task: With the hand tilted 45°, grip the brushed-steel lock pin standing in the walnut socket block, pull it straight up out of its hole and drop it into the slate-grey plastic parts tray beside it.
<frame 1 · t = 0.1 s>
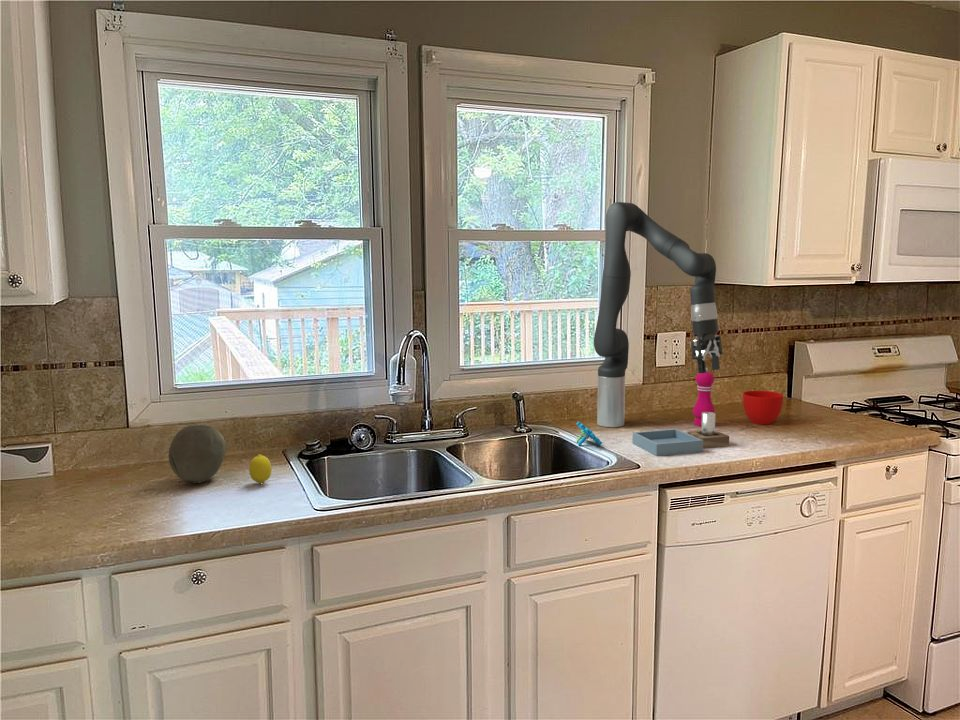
hand: (709, 371, 216), 22 cm above the worktop, tool pointing down, fingers open, 8 cm apart
blue branched flat part: (588, 445, 220), on the worktop
lock pin: (708, 428, 219), in the socket block
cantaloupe: (199, 481, 189), on the worktop
lemon: (261, 484, 185), on the worktop
socket block: (707, 443, 219), on the worktop
parts tray: (666, 447, 215), on the worktop
pepper mill: (703, 425, 243), on the worktop
ceramic cup: (762, 421, 247), on the worktop
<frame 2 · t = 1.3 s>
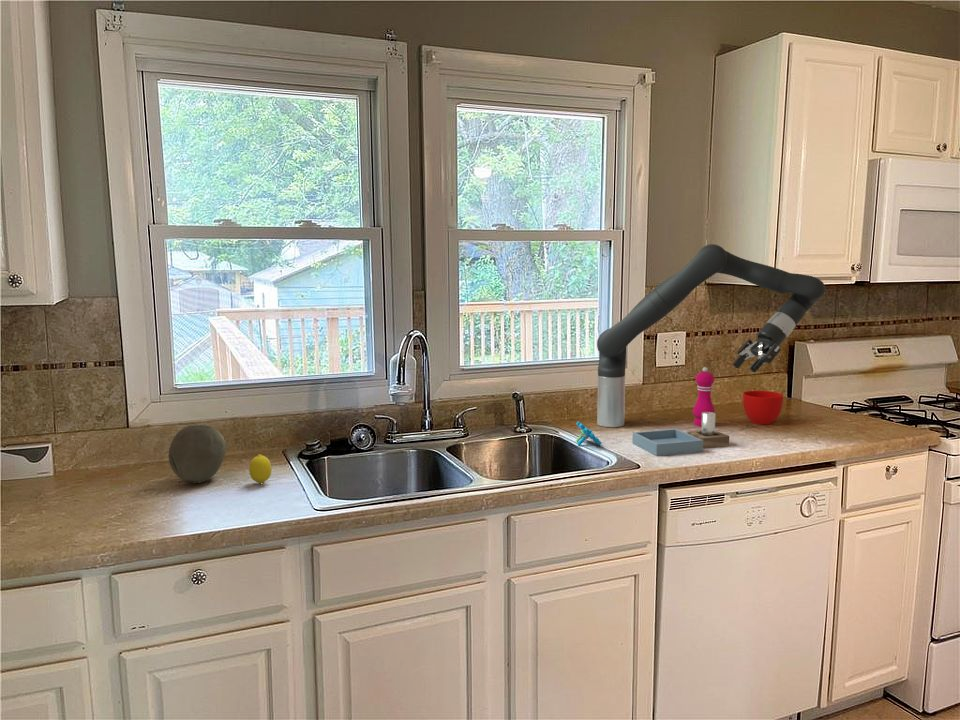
hand: (743, 368, 219), 23 cm above the worktop, tool tilted 45°, fingers open, 8 cm apart
nothing on the worktop moved.
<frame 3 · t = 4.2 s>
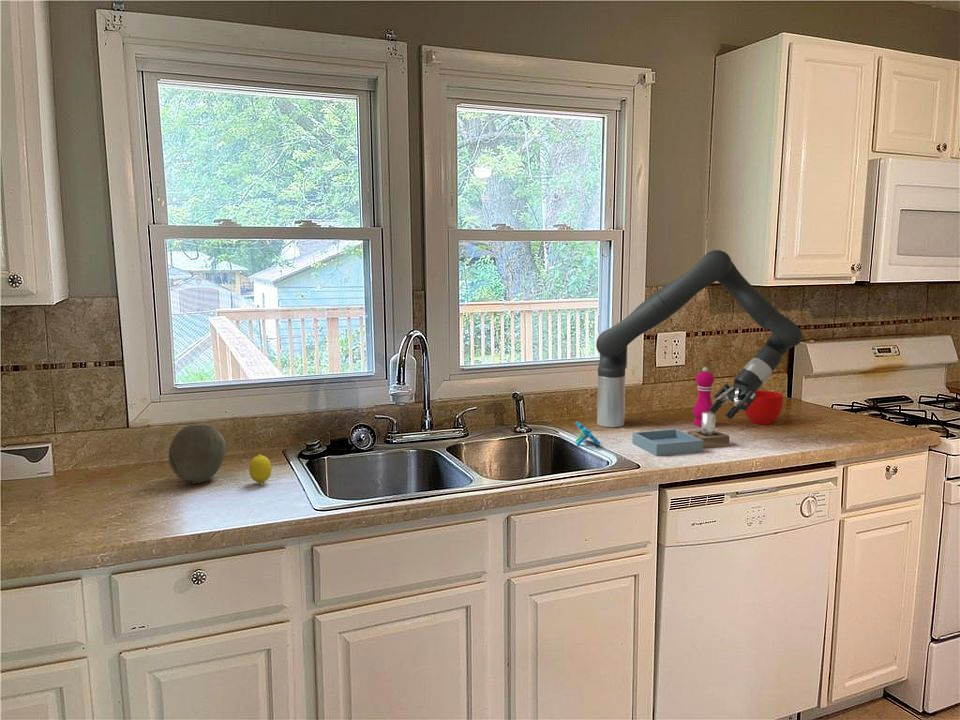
hand: (719, 414, 219), 9 cm above the worktop, tool tilted 45°, fingers open, 8 cm apart
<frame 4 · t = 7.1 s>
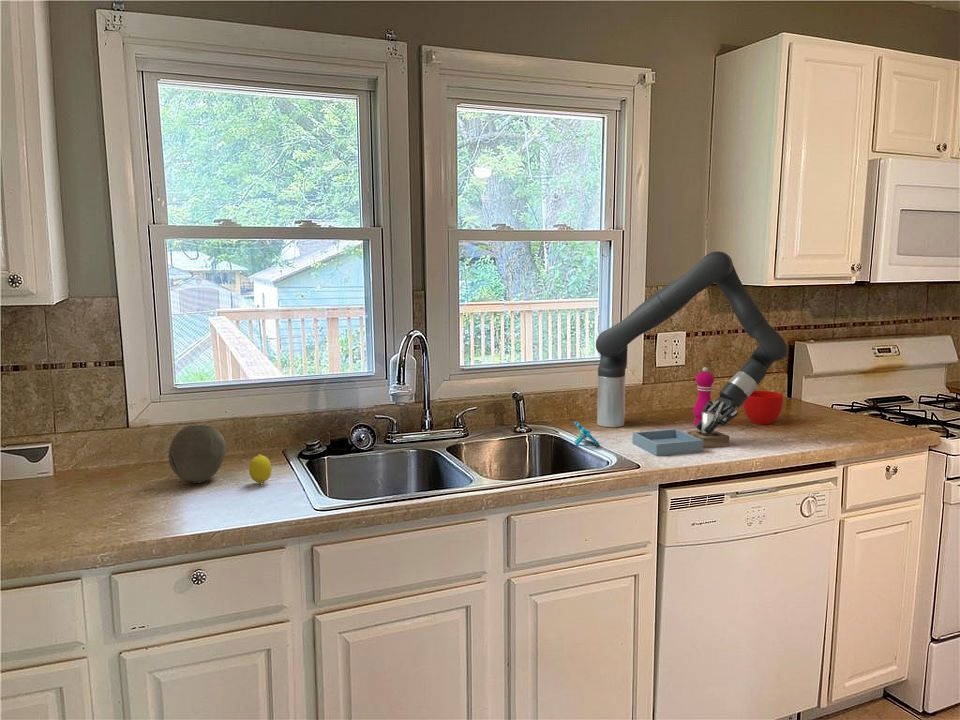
hand: (702, 430, 218), 4 cm above the worktop, tool tilted 45°, fingers closed on lock pin, 4 cm apart
lock pin: (708, 428, 218), in the socket block, touching gripper
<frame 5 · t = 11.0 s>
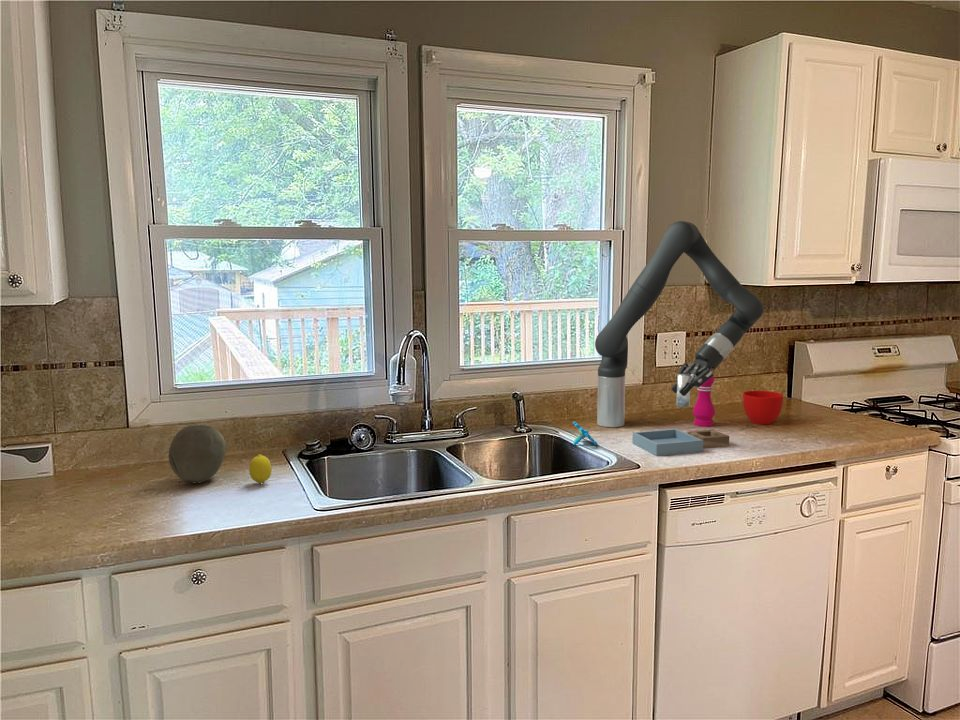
hand: (677, 392, 214), 17 cm above the worktop, tool tilted 45°, fingers closed on lock pin, 4 cm apart
lock pin: (683, 390, 214), point 17 cm above the worktop, touching gripper
when the fingers open (6 cm above the worktop, at t = 14.9 s): lock pin stays where it is, resting on parts tray.
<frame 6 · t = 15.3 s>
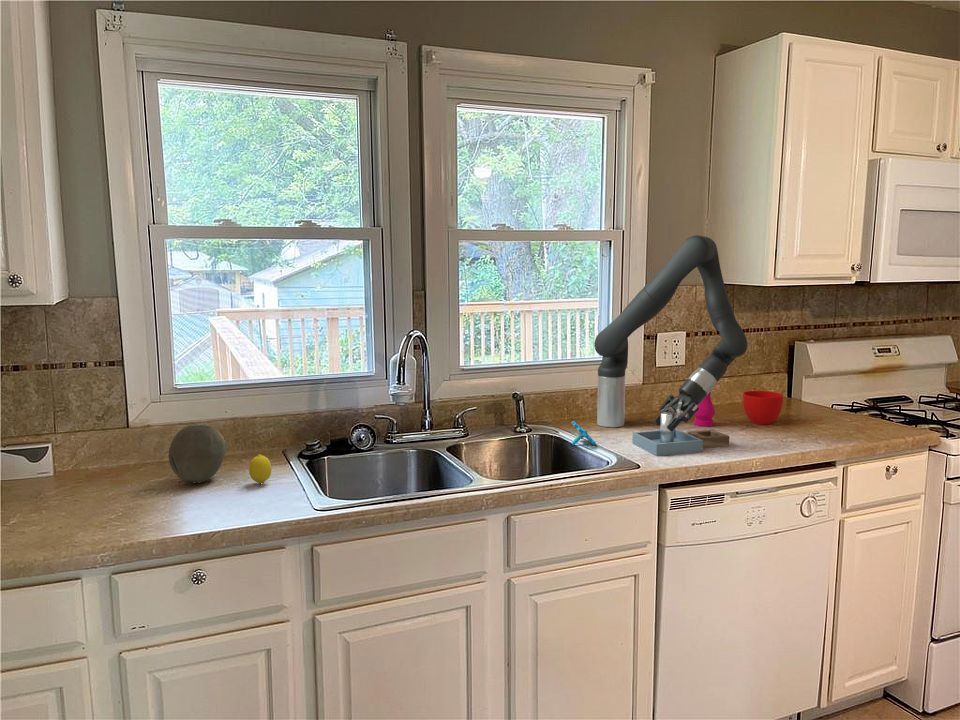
hand: (662, 426, 214), 7 cm above the worktop, tool tilted 45°, fingers open, 7 cm apart
lock pin: (667, 429, 214), in the parts tray, point 6 cm above the worktop
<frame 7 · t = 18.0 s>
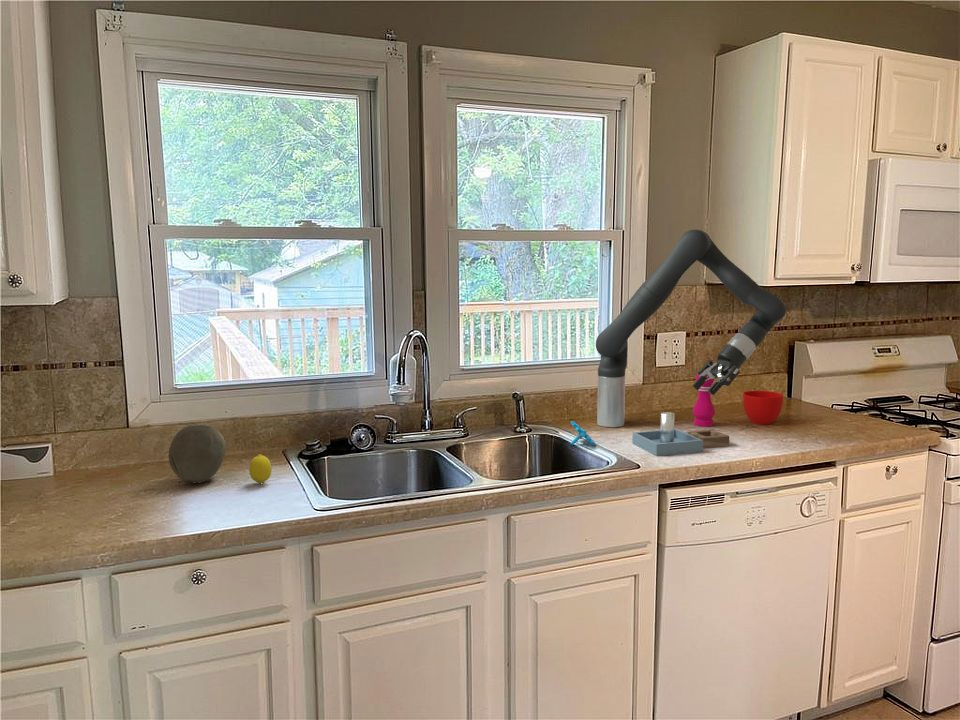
hand: (702, 390, 216), 17 cm above the worktop, tool tilted 45°, fingers open, 8 cm apart
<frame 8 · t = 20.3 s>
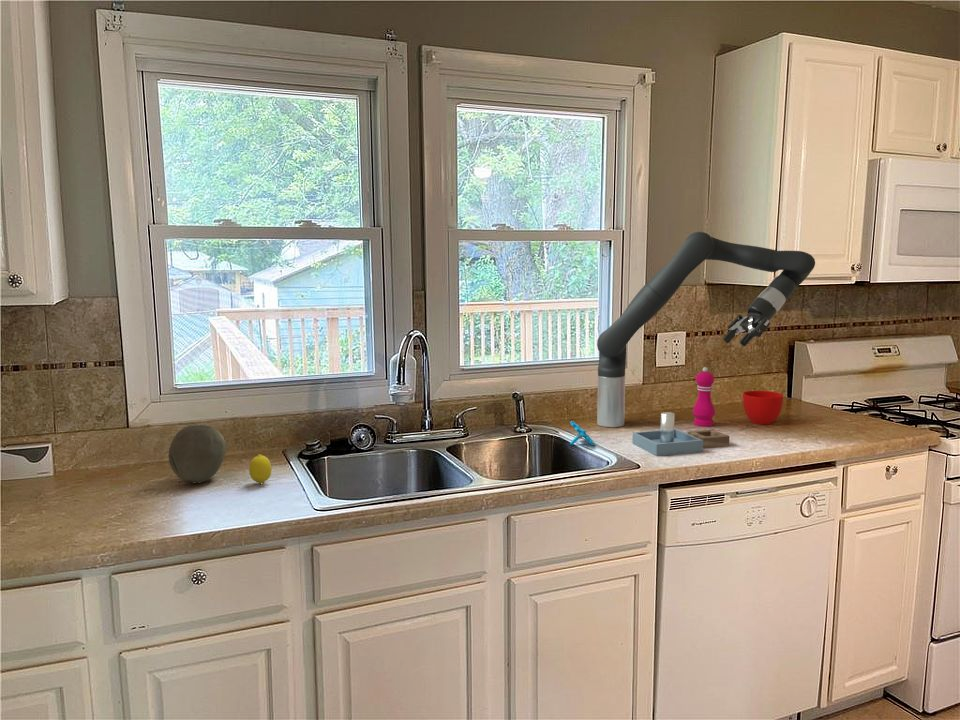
hand: (733, 343, 219), 31 cm above the worktop, tool tilted 45°, fingers open, 8 cm apart
at the end: lock pin inside the target area on the parts tray (0.1 cm from its centre), point 5.8 cm above the parts tray's base; lock pin moved 14.5 cm from its start; the gripper is holding nothing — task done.
